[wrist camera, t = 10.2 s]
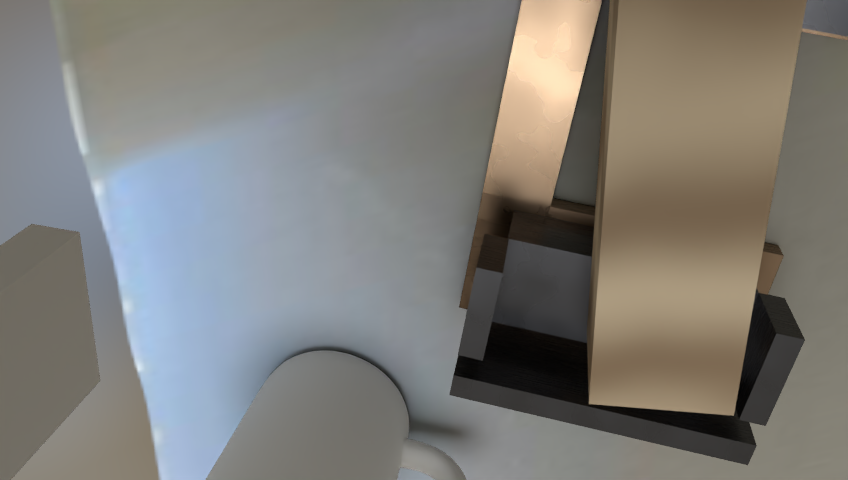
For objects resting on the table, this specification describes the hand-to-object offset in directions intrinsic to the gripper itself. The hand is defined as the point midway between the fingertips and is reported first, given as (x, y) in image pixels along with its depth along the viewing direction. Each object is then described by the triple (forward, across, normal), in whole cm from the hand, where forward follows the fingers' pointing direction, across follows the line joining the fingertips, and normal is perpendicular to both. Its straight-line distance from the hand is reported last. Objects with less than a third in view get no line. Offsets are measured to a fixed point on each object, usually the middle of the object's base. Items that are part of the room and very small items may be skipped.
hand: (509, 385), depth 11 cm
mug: (+23, -6, -21) cm, 32 cm away
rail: (+19, +5, -3) cm, 20 cm away
